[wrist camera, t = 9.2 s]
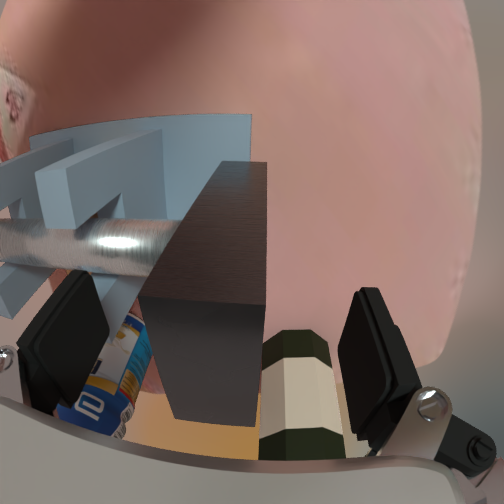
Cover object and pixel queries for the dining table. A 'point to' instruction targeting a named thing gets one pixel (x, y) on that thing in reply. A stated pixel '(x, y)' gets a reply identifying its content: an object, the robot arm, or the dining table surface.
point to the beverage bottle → (113, 382)
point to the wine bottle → (298, 400)
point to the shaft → (182, 286)
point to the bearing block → (113, 187)
